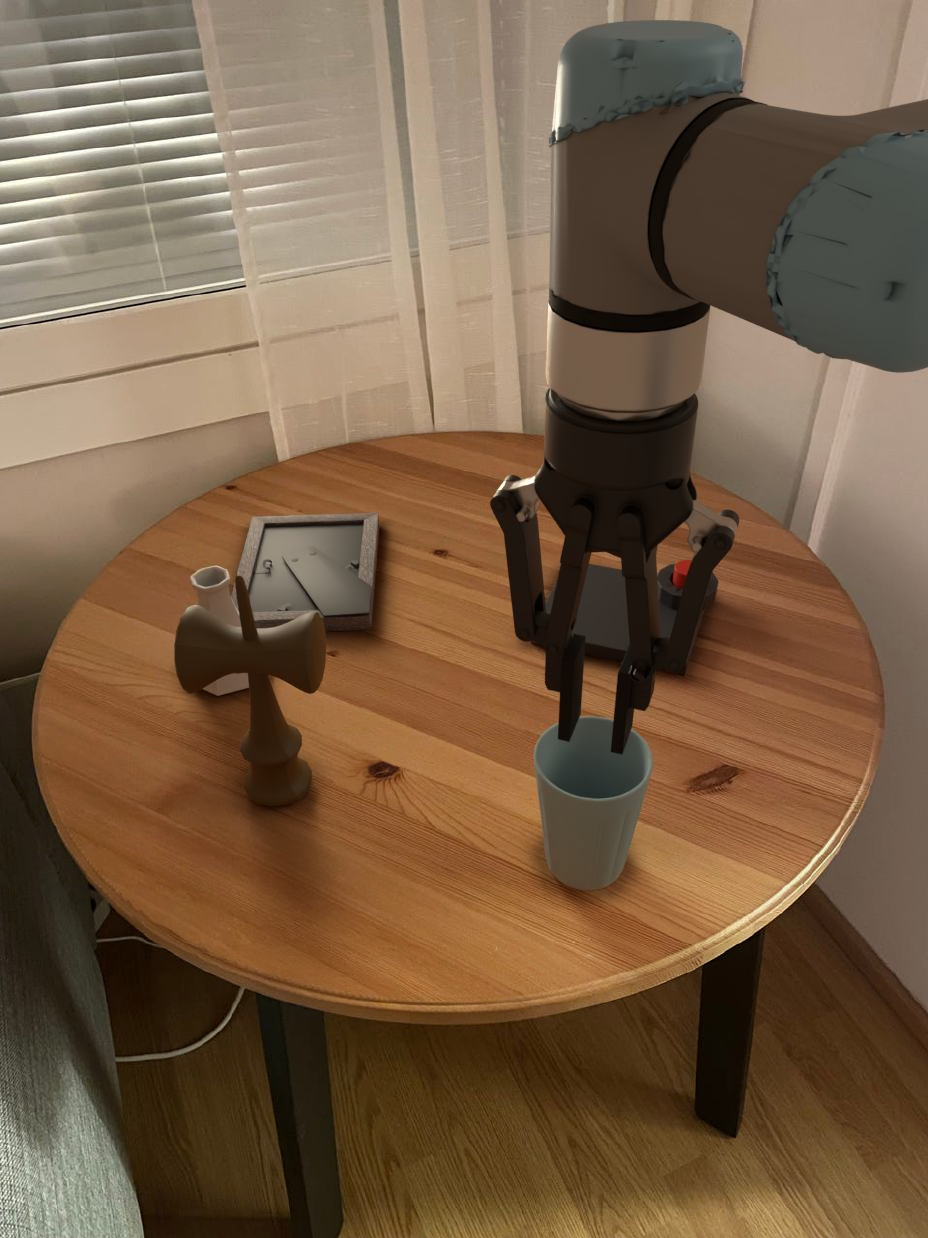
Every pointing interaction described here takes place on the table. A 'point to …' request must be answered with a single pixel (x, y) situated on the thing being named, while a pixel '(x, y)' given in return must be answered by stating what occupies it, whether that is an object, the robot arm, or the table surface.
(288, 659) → the kendama
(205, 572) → the flask
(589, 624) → the scale
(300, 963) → the table surface
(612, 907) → the table surface
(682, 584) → the button
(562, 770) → the cup
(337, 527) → the picture frame
